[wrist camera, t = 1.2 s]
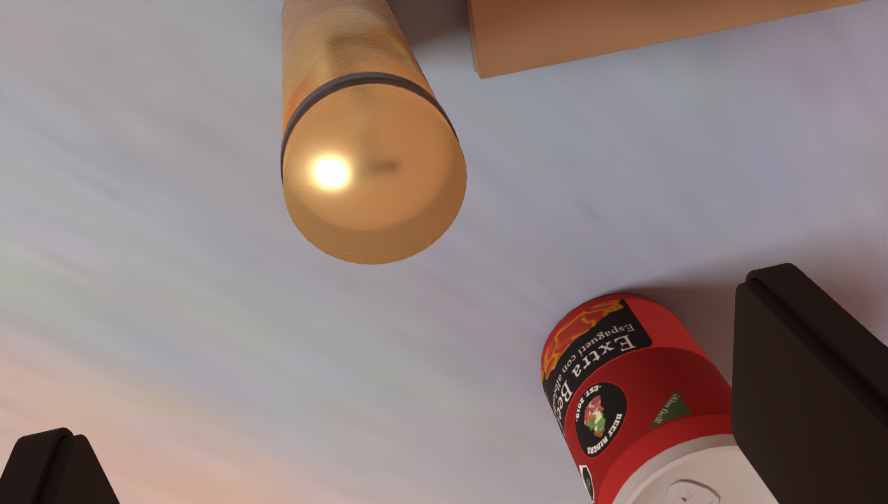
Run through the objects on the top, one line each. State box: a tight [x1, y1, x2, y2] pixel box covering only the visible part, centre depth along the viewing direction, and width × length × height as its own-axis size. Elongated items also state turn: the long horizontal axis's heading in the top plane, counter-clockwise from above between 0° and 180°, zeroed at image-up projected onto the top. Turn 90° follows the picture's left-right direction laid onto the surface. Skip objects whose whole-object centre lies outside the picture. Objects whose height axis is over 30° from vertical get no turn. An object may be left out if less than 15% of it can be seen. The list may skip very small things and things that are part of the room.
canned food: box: [541, 294, 779, 504], centre depth 36 cm, size 8×8×11 cm
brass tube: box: [281, 0, 467, 264], centre depth 24 cm, size 4×4×15 cm
